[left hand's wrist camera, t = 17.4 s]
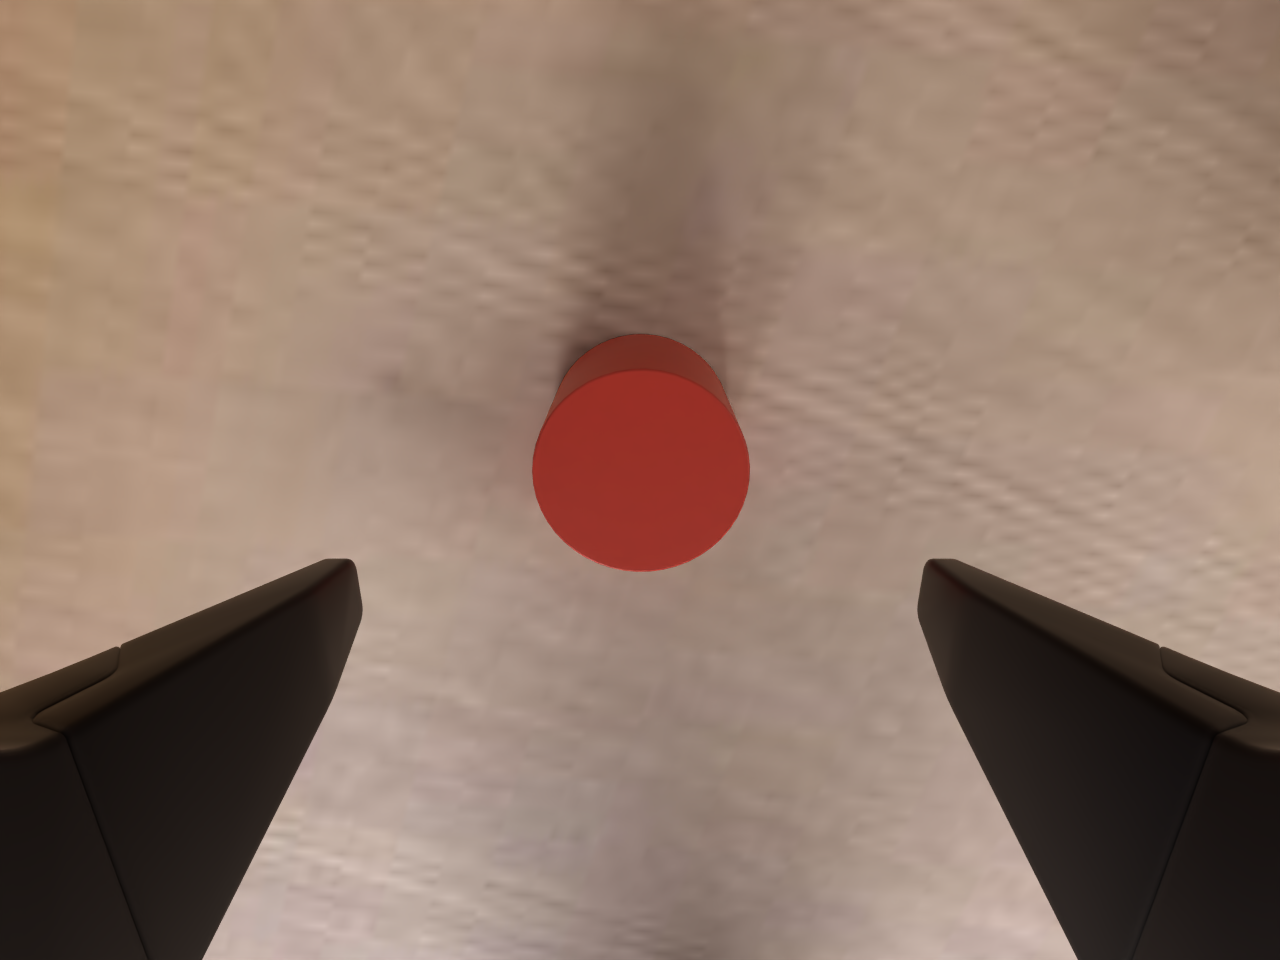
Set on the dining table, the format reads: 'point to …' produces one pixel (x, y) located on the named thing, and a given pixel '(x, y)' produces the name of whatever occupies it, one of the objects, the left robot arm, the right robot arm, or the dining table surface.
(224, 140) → the dining table surface
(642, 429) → the canister
